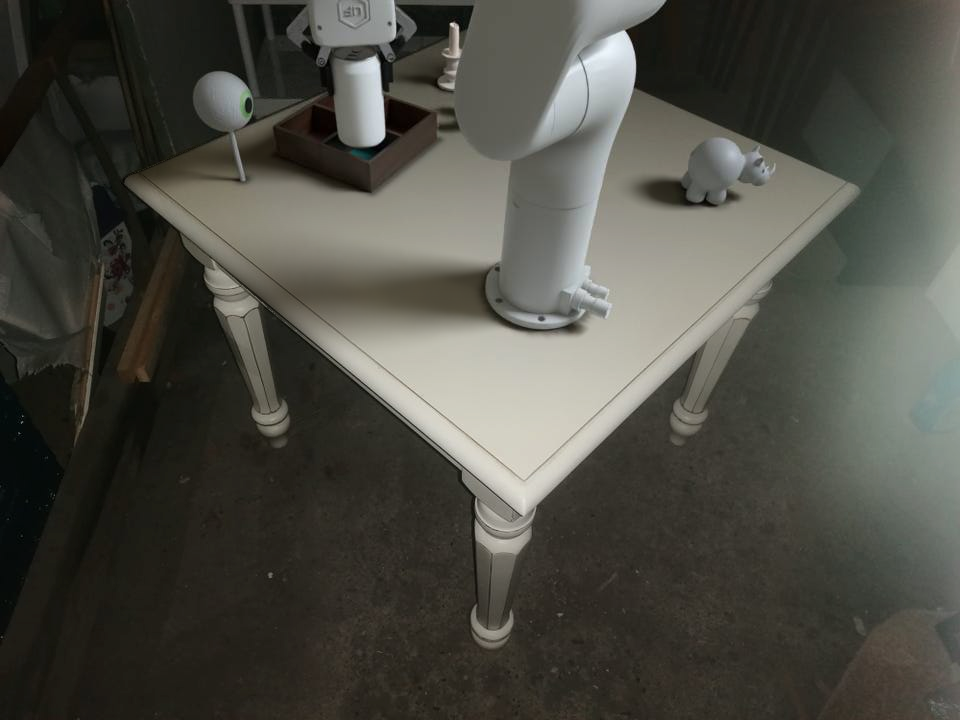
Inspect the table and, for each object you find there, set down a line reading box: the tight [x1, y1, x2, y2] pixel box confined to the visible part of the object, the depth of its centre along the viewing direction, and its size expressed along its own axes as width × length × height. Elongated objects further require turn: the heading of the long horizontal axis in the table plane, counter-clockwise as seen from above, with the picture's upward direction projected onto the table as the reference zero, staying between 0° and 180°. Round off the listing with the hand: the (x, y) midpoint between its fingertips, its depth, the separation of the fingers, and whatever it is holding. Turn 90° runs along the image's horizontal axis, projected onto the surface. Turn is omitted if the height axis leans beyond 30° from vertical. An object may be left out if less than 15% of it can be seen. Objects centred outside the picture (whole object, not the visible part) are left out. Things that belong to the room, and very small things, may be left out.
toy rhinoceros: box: [680, 136, 776, 206], centre depth 93 cm, size 7×12×8 cm, turn 86°
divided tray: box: [271, 91, 438, 193], centre depth 98 cm, size 17×17×4 cm
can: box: [329, 45, 385, 149], centre depth 88 cm, size 6×6×12 cm
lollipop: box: [192, 70, 254, 182], centre depth 87 cm, size 7×7×15 cm
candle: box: [437, 20, 462, 92], centre depth 110 cm, size 5×5×10 cm
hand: (357, 88), depth 87 cm, fingers closed on can, 6 cm apart
